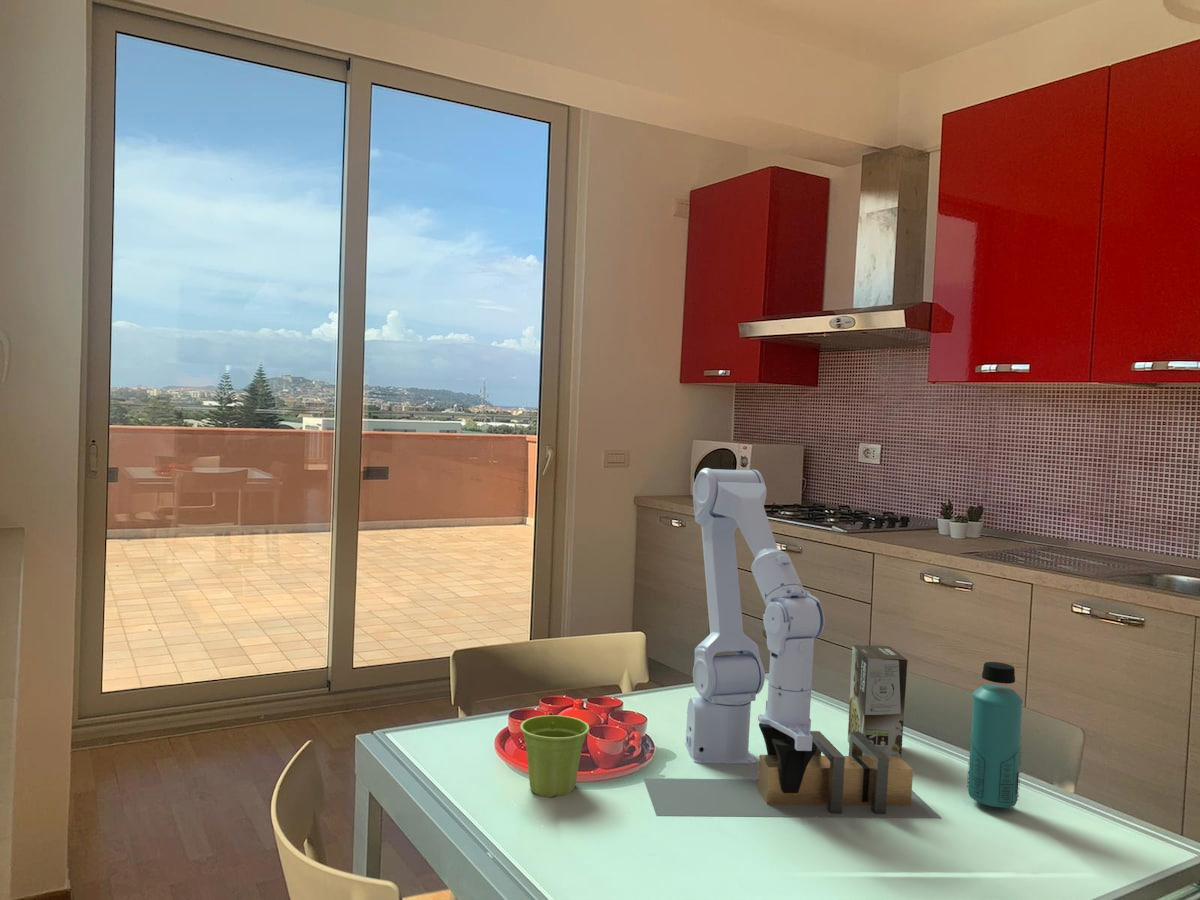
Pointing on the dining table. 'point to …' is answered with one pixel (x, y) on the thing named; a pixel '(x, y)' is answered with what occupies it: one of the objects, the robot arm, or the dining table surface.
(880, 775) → the collar
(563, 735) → the plant pot
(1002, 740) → the beverage bottle
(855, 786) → the striped wooden beam
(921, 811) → the mat
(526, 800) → the dining table surface
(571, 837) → the dining table surface
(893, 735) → the coffee box
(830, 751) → the collar
